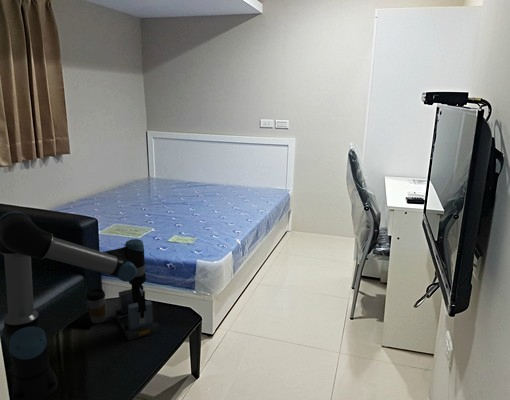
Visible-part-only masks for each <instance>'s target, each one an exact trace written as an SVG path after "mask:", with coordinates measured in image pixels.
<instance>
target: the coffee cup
mask: <svg viewBox="0 0 510 400" xmlns="http://www.w3.org/2000/svg"><path fill="white" fill-rule="evenodd" d="M105 293H106V292H105V291H104V290H103V289H102V288H93V289H91V290H89V291H87V293H86V300H87V307H88V311H89V316H90V320H91V323H93V324H95V323H98V324H101V322H102V323H103V322H104V321H105V320H106V294H105Z"/></svg>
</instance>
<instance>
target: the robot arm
mask: <svg viewBox="0 0 510 400" xmlns="http://www.w3.org/2000/svg"><path fill="white" fill-rule="evenodd" d="M0 254H1V255H3V258H4V261H3V262H4V272H5V285H6V286H5V287H6V290H5V291H6V301H7V304H6V305H7V314H6V315H5V317H4V318H3V329H2V330H3V331H2V335H3V336H2V337H3V339H4V341H5V344H6V346H7V347H6V348H7V349H8V353H9V355H10V359H11V363H12V364H11V365H12V369H13V370H12V371H13V376H14V378H13V384H12V388H11V399H12V398H13V399H12V400H46V399H47V398H49V397H50V396H52V395H53V394H54V393H55V392H56V391H57V389H58V387H57V386H59V381H58V378H57V377H58V376H56V374H55V372H54V370H53V369H52V367H51V363H50V356H49V350H48V349H49V348H48V338H47V335H46V332H45V330H43V329H42V328H41V327H40V317H39V316H40V315H39V312H38V311H37V310H36V309H35V307H34V287H33V270H32V268H33V267H32V258H33V259H34V258H35V259H37V260H43V259H45V258H46V259H49V260H53V261H57V262H61V263H64V264H67V265H72V266H75V267H78V268H79V267H80V268H83V269H87V270H90V271H95V272H98V273H100V274H105V275H109V276H111V277H116V278H118V279H119V280H120V281H122V282H123V283H124V282H125V283H126V282H128V284H130V285H131V289H132V300H133V301H134V302H133V303H138V308H139V311H137V312H138V316H139V324H143V323H145V311H146V303H145V301H146V291H145V290H144V285H143V284H144V283H146V280H147V276H146V275H147V274H146V267H147V265H146V262H145V246H144V242H143V240H141V239H138V238H133V239H129V240H126V242H125V246H122V247H119V248H114V249H109V250H105V251H100V250H97V249H93V248H90V247H87V246H84V245H80V244H77V243H74V242H72V241H67V240H64V239H61V238H57V237H54V234H53V233H52V232H49V231H45V230H43V229H41V227H38V226H37V225H35V223H34V222H33V221H32V218H31V217H30V216H29V215H27V214H26V213H24V212H21V211H15V210H14V211H8V212H6V213H4V214H2V215H1V216H0Z"/></svg>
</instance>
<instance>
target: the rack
mask: <svg viewBox="0 0 510 400" xmlns="http://www.w3.org/2000/svg"><path fill="white" fill-rule="evenodd" d="M118 301H119V307H118V308H114V316H115V318H116V320H117V322H118V324H119V326H120V327H121V330H122V331H123V333H124V335H125V336H126V338H127V341H128V342H130V341H133V340H138V339H139V338H144V337H147V336H151V335H154V334H158V333H160V325H159V322H158V323H157V322H155V321H154V319H155V318H154V317H153V324H152V325H148V326H145V327H141V328H138V329H134V330H131V331H130V330H129V323H128V305H129V304H134V303H133V302H134V301H133V300H132V288H131V289H127V290H123V291H122V290H121V291H119V292H118Z"/></svg>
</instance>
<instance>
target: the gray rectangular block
mask: <svg viewBox="0 0 510 400" xmlns="http://www.w3.org/2000/svg"><path fill="white" fill-rule="evenodd" d="M145 303H146V311H145V323H143V324H139V316H138V312H137V311H139V308H138V303H134V304H129V305H128V323H129V330H130V331H131V330H134V329H138V328H141V327H145V326H148V325H152V324H153V318H154V315H153V302H152V301H151V300H150V299H148V300H145Z"/></svg>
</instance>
